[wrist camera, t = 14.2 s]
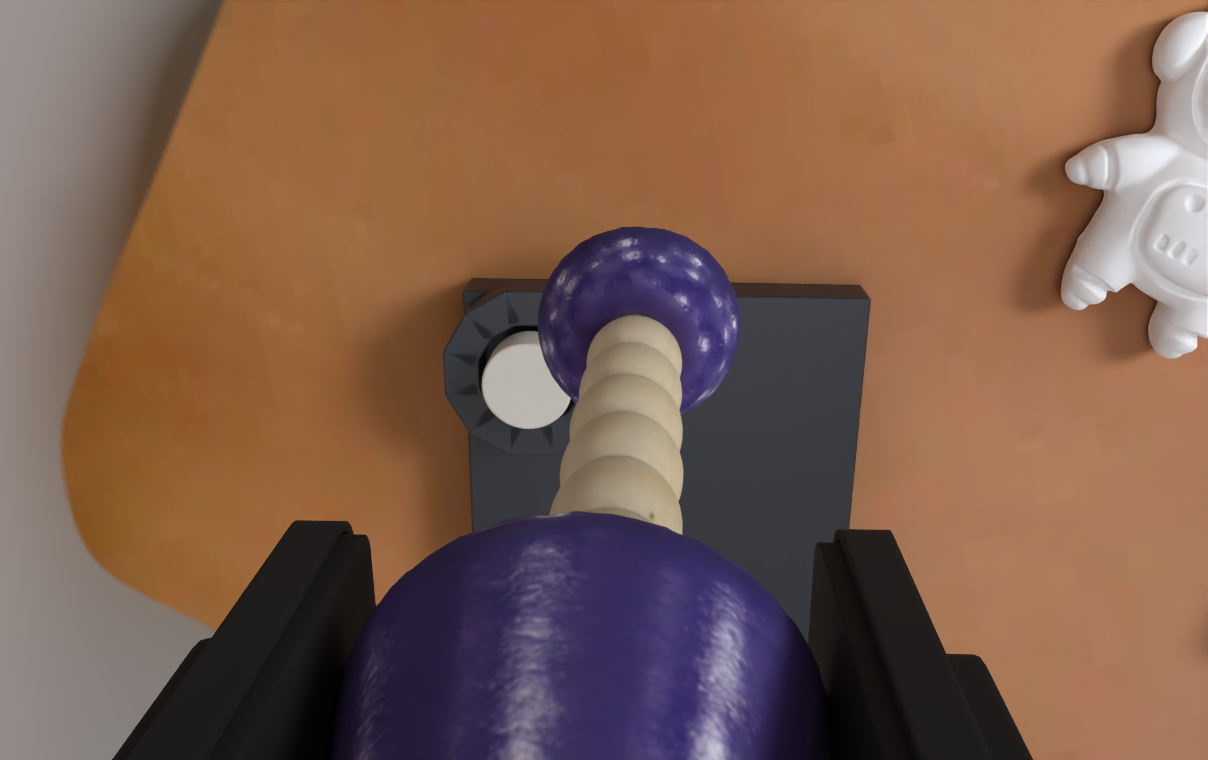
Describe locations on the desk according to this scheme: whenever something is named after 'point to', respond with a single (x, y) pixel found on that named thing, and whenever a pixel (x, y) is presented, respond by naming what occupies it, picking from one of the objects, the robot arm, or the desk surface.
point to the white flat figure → (1153, 200)
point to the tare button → (522, 384)
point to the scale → (703, 428)
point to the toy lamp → (597, 565)
